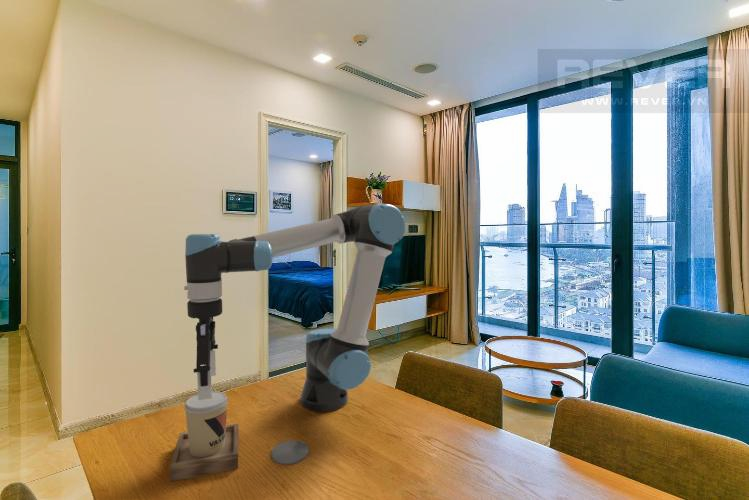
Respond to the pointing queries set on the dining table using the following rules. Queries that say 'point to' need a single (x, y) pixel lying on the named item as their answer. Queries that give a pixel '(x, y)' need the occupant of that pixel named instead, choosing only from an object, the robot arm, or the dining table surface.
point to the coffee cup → (206, 424)
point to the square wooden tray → (194, 466)
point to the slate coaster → (289, 452)
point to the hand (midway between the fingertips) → (207, 386)
